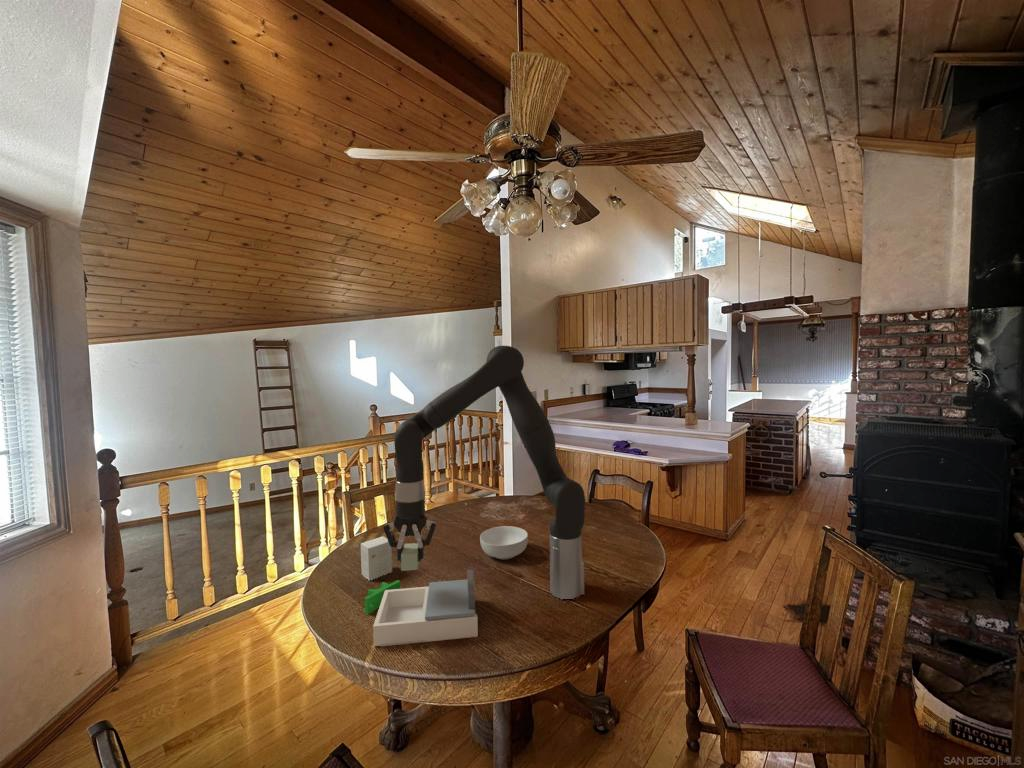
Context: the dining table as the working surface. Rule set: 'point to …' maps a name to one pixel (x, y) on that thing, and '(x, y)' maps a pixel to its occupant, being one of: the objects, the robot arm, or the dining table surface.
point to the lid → (451, 598)
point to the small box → (376, 558)
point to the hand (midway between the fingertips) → (410, 560)
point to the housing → (416, 620)
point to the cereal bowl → (504, 541)
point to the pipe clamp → (378, 596)
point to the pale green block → (409, 557)
